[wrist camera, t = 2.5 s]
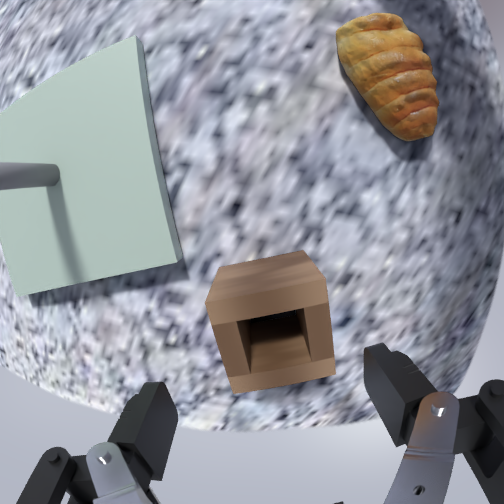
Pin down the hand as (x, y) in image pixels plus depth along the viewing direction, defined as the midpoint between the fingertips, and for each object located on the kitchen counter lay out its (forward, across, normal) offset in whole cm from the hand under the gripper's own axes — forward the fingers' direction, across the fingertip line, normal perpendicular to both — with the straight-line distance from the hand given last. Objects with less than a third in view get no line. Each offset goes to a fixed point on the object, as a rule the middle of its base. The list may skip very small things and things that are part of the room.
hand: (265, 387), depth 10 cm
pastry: (+10, -12, -14) cm, 21 cm away
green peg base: (+9, +12, -12) cm, 20 cm away
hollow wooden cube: (+9, -1, 0) cm, 9 cm away
